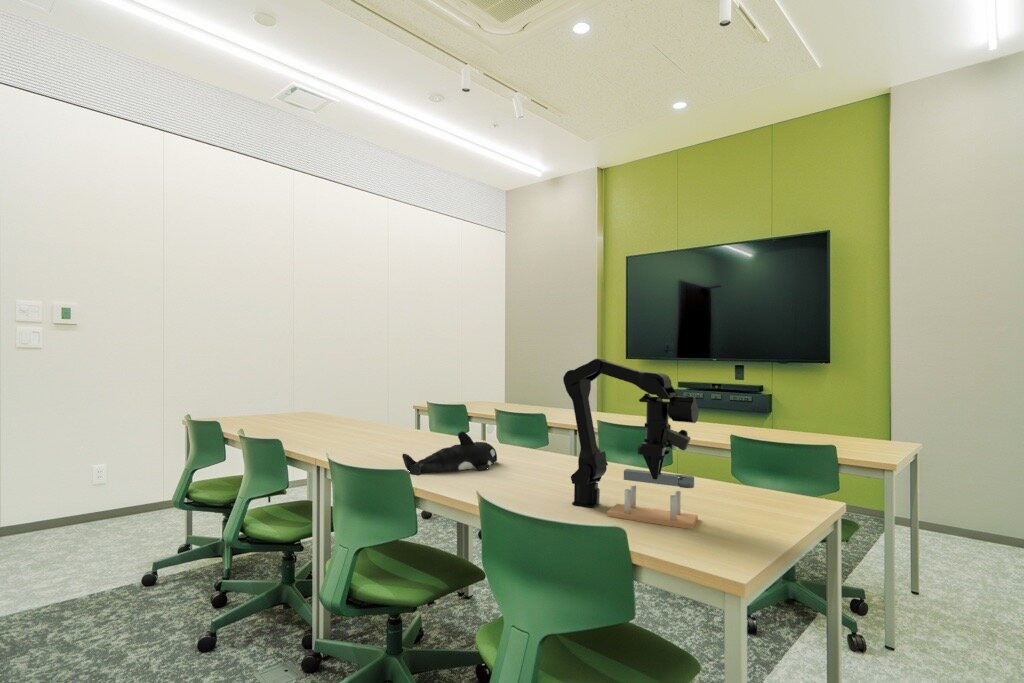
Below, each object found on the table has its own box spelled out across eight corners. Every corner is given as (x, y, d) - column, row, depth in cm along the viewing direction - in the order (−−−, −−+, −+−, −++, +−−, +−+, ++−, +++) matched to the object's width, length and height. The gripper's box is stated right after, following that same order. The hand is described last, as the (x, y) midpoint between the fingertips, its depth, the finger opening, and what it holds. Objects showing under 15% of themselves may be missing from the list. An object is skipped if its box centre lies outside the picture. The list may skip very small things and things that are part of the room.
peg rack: (607, 516, 142) (607, 489, 143) (617, 507, 151) (617, 482, 152) (692, 529, 132) (692, 500, 133) (697, 519, 141) (697, 492, 142)
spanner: (622, 480, 144) (623, 470, 144) (626, 477, 148) (627, 468, 148) (692, 488, 136) (693, 479, 136) (695, 485, 139) (695, 476, 140)
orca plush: (512, 469, 205) (513, 432, 206) (411, 477, 186) (412, 436, 186) (488, 460, 224) (489, 425, 225) (394, 466, 205) (395, 428, 205)
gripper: (682, 425, 131) (681, 488, 130) (693, 419, 147) (692, 475, 147) (637, 421, 136) (636, 483, 135) (652, 416, 152) (651, 470, 152)
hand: (656, 478), depth 142 cm, fingers closed on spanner, 3 cm apart
